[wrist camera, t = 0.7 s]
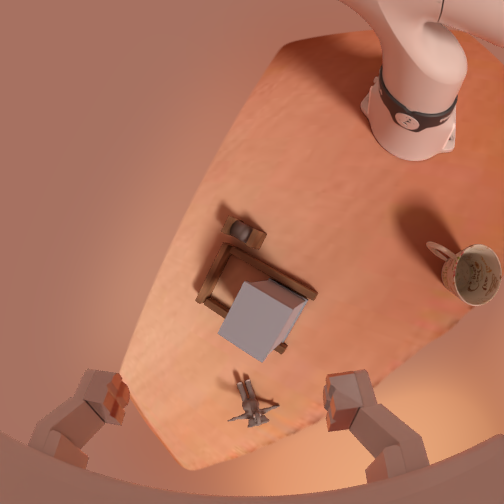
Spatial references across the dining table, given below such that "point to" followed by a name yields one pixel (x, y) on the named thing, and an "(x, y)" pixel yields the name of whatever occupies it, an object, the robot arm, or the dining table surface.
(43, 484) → the robot arm
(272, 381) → the dining table surface
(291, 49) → the dining table surface
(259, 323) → the gray rectangular block
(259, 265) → the bay
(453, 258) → the mug
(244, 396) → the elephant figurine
